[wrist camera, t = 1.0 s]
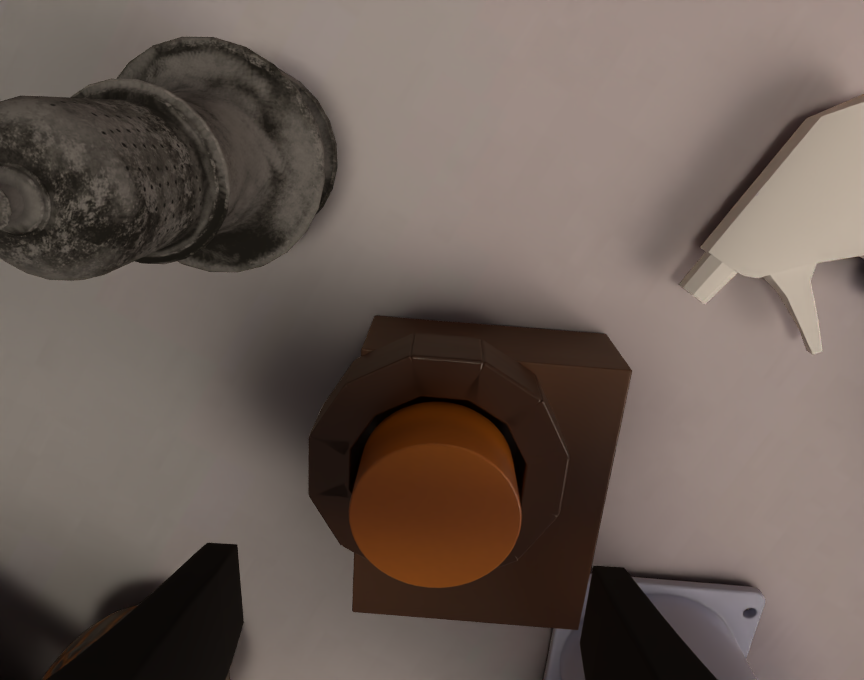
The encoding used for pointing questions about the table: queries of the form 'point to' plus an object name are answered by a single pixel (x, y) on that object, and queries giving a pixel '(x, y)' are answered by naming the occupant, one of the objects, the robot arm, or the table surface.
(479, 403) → the brown button base
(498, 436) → the orange button
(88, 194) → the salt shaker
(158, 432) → the table surface
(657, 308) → the table surface
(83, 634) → the vase
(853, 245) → the spray bottle
